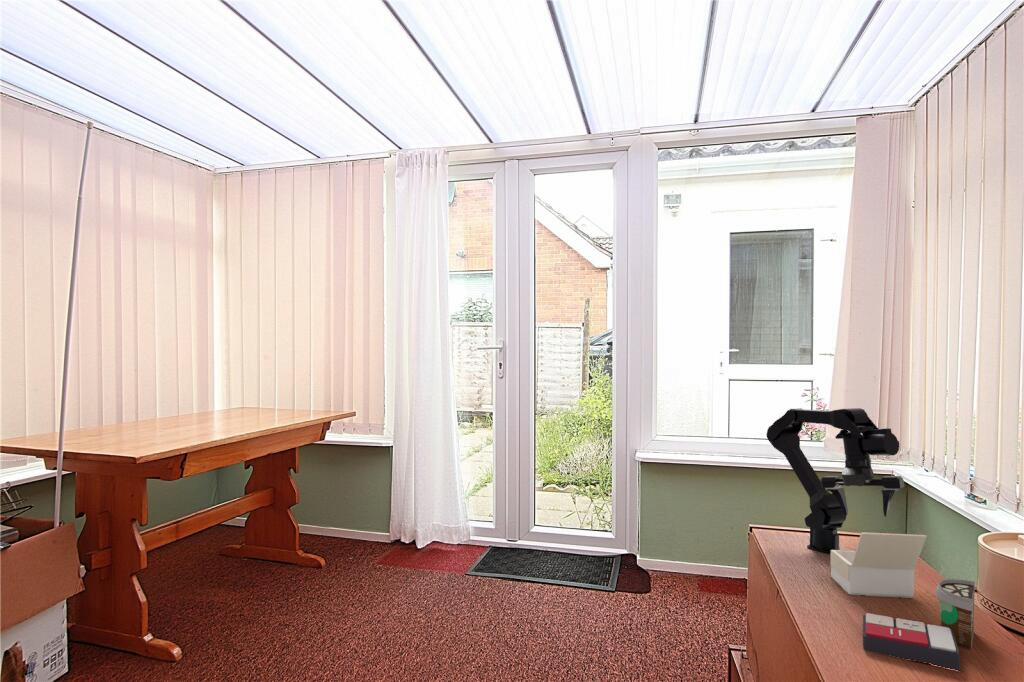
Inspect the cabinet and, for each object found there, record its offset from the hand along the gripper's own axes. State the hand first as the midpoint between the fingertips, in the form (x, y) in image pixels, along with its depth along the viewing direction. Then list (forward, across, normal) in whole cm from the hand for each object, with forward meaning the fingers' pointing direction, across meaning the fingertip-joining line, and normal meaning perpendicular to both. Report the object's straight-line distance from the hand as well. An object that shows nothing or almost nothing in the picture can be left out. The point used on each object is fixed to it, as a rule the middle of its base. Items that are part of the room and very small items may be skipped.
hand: (865, 515), depth 160 cm
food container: (+19, +20, -30) cm, 41 cm away
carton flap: (+5, +9, -21) cm, 24 cm away
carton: (+15, +2, -15) cm, 21 cm away
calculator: (+20, +14, -42) cm, 48 cm away
